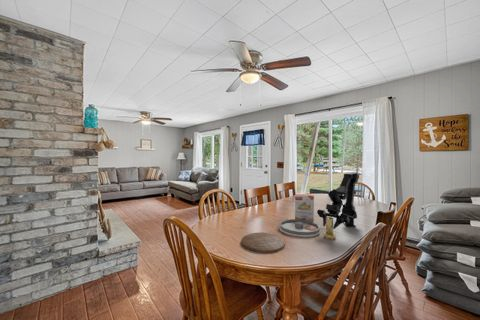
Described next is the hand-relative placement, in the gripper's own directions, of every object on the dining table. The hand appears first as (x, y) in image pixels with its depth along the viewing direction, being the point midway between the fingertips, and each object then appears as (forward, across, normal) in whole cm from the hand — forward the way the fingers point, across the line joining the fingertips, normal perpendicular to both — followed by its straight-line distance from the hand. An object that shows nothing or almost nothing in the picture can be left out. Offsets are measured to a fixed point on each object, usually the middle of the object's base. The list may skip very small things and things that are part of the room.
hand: (328, 227), depth 126 cm
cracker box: (-9, -28, +18) cm, 34 cm away
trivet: (+30, -23, -20) cm, 43 cm away
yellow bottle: (+4, 0, +6) cm, 7 cm away
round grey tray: (+4, -21, +5) cm, 22 cm away
